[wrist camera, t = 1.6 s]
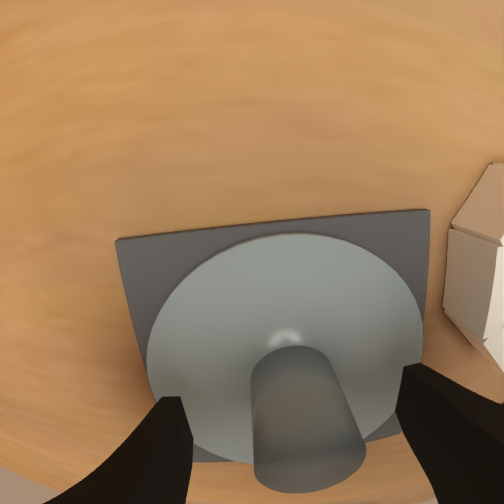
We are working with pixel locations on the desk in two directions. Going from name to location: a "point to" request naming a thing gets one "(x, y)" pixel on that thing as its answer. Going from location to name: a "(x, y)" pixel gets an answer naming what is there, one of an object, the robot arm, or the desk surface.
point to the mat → (216, 238)
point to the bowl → (479, 267)
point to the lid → (287, 354)
